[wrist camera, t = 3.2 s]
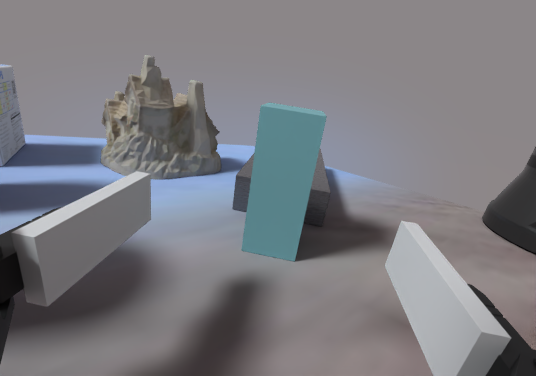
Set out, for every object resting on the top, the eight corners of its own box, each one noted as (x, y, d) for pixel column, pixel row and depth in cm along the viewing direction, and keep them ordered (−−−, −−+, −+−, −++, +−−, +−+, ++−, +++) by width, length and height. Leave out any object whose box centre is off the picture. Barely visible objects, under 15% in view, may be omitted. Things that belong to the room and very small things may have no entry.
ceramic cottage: (232, 174, 41) (236, 65, 36) (106, 187, 32) (88, 44, 27) (196, 152, 53) (195, 68, 48) (97, 157, 44) (84, 54, 39)
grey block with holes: (262, 160, 51) (265, 139, 49) (315, 170, 50) (320, 148, 49) (232, 209, 30) (236, 175, 29) (322, 226, 30) (330, 192, 28)
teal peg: (296, 234, 27) (322, 111, 23) (294, 261, 23) (326, 116, 19) (251, 225, 28) (269, 102, 23) (241, 250, 23) (260, 105, 19)
